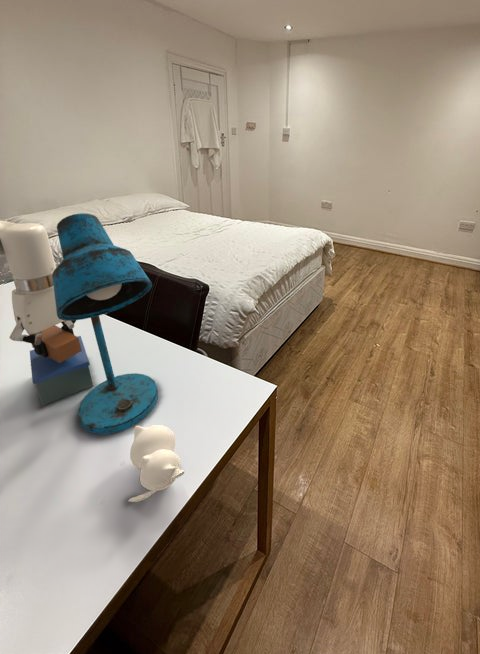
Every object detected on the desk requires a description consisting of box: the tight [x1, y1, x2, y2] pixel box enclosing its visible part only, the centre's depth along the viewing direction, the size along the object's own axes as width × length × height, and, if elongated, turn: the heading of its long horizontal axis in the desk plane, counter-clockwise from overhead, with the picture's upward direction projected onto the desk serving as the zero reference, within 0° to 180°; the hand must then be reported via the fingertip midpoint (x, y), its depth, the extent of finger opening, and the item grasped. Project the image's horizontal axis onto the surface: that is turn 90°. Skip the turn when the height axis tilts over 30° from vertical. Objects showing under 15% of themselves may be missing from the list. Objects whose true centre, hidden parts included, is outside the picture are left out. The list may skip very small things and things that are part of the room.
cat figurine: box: [128, 424, 185, 503], centre depth 59 cm, size 9×11×12 cm
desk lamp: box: [52, 212, 159, 435], centre depth 65 cm, size 16×22×45 cm
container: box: [29, 335, 94, 406], centre depth 79 cm, size 13×11×8 cm
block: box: [30, 325, 82, 363], centre depth 76 cm, size 11×5×4 cm, turn 63°
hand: (56, 347), depth 77 cm, fingers closed on block, 5 cm apart
